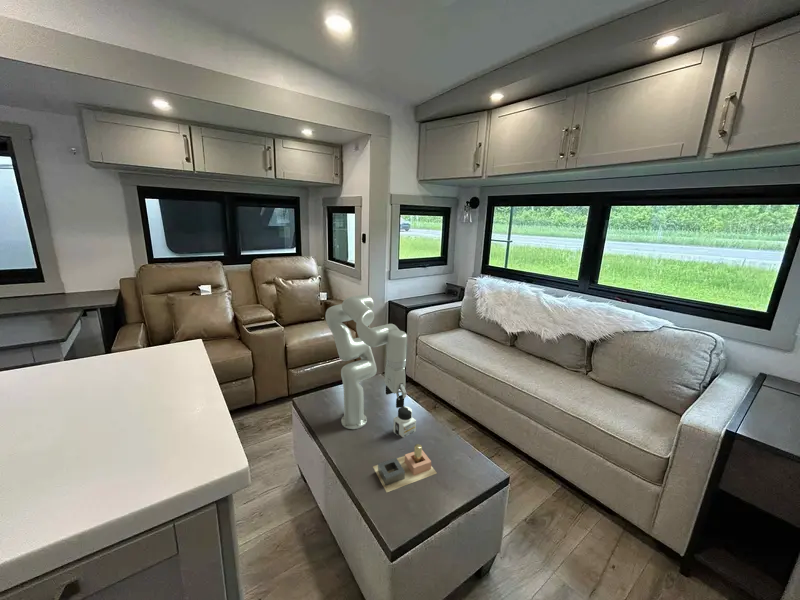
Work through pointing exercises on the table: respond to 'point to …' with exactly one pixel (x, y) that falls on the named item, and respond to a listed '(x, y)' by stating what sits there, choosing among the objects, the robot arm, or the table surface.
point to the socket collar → (417, 467)
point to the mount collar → (392, 476)
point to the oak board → (408, 476)
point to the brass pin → (417, 453)
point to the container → (404, 422)
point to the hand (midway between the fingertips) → (394, 400)
